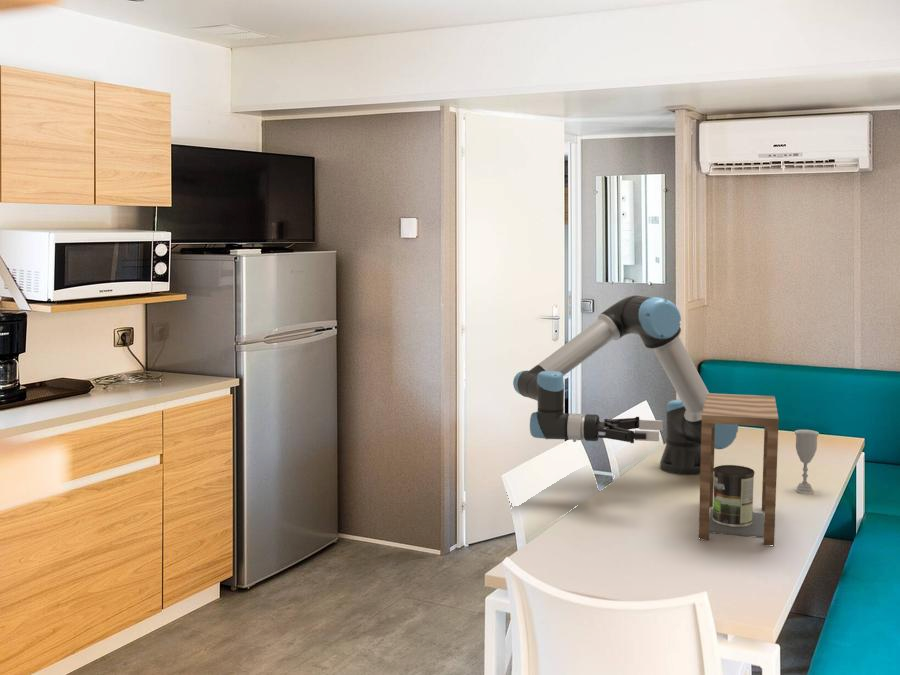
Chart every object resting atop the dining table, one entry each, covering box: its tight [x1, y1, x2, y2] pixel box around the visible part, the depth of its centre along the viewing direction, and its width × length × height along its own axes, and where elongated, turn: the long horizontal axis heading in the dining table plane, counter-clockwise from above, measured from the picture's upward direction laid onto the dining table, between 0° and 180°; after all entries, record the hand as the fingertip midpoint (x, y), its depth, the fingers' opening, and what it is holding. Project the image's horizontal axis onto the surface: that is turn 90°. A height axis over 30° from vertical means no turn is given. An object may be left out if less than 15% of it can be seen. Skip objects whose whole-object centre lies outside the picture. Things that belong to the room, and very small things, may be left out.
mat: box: [709, 508, 765, 538], centre depth 242 cm, size 20×14×1 cm
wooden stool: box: [698, 392, 780, 547], centre depth 240 cm, size 32×18×32 cm, turn 162°
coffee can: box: [712, 464, 755, 527], centre depth 241 cm, size 10×10×14 cm
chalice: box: [794, 429, 820, 495], centre depth 270 cm, size 7×7×18 cm
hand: (660, 430), depth 252 cm, fingers open, 13 cm apart
